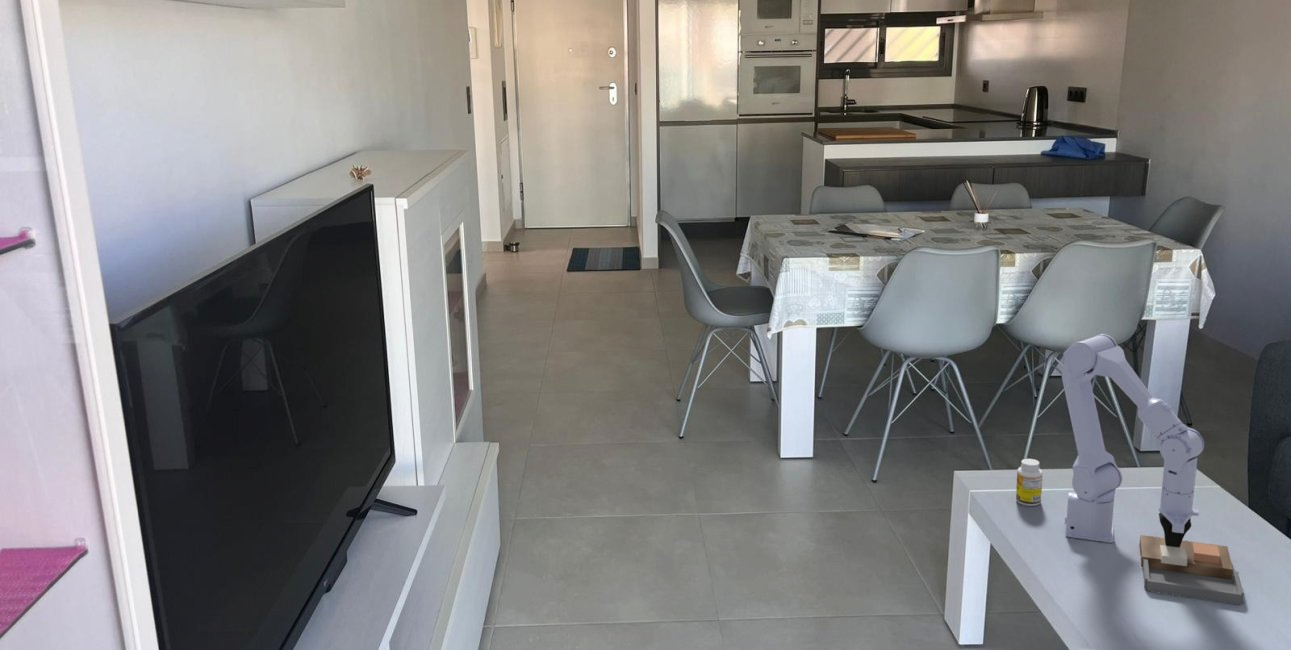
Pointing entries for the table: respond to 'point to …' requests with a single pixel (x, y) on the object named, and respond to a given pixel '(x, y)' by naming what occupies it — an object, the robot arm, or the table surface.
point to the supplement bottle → (1029, 483)
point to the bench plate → (1218, 570)
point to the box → (1193, 585)
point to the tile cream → (1173, 555)
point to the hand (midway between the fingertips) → (1172, 549)
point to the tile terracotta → (1205, 553)
